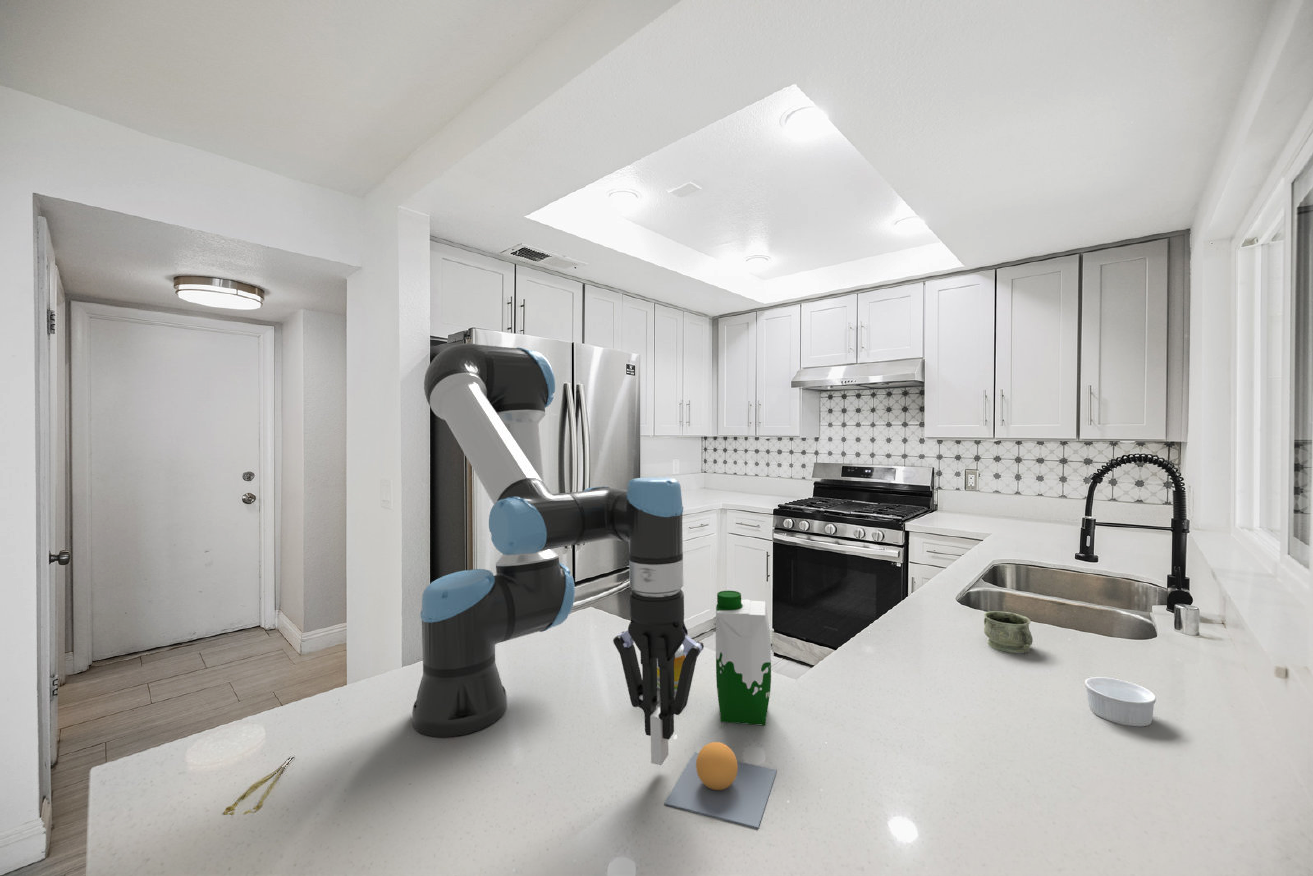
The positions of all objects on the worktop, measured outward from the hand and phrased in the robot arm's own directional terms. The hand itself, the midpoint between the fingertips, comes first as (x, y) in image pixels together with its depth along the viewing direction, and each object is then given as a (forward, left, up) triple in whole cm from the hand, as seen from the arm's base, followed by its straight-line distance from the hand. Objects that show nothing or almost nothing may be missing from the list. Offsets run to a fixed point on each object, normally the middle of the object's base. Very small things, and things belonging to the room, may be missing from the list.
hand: (660, 758), depth 77 cm
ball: (+8, 0, +1) cm, 8 cm away
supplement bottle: (-8, +25, -2) cm, 26 cm away
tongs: (-50, -22, -3) cm, 54 cm away
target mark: (+9, 0, -2) cm, 9 cm away
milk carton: (+7, +20, -2) cm, 21 cm away
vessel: (+53, +68, -2) cm, 86 cm away
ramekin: (+64, +41, -2) cm, 76 cm away
